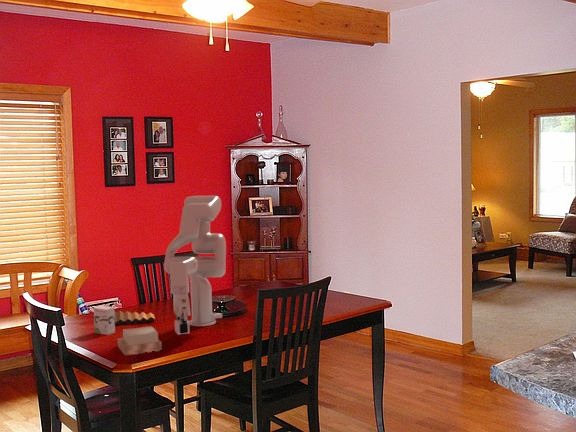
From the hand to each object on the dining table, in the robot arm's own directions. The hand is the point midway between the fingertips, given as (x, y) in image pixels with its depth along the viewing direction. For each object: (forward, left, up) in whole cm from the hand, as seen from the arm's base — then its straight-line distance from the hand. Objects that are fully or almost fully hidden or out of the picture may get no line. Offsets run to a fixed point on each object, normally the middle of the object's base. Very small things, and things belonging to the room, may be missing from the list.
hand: (182, 330), depth 294 cm
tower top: (+18, +2, -1) cm, 18 cm away
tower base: (+19, +2, -5) cm, 20 cm away
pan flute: (+13, -55, -5) cm, 56 cm away
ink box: (+28, -32, -5) cm, 43 cm away
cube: (0, 0, -1) cm, 1 cm away
